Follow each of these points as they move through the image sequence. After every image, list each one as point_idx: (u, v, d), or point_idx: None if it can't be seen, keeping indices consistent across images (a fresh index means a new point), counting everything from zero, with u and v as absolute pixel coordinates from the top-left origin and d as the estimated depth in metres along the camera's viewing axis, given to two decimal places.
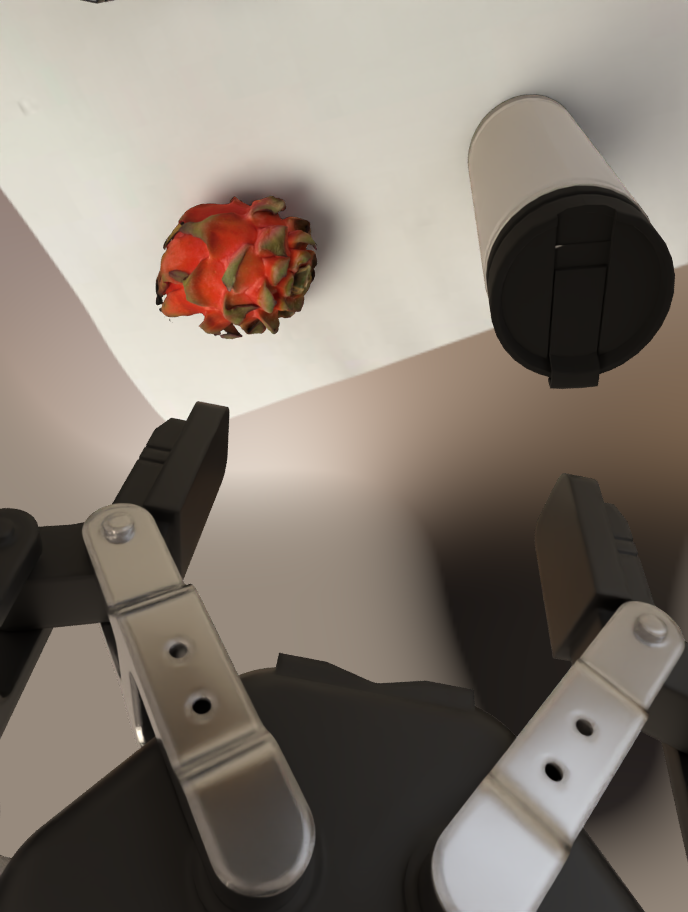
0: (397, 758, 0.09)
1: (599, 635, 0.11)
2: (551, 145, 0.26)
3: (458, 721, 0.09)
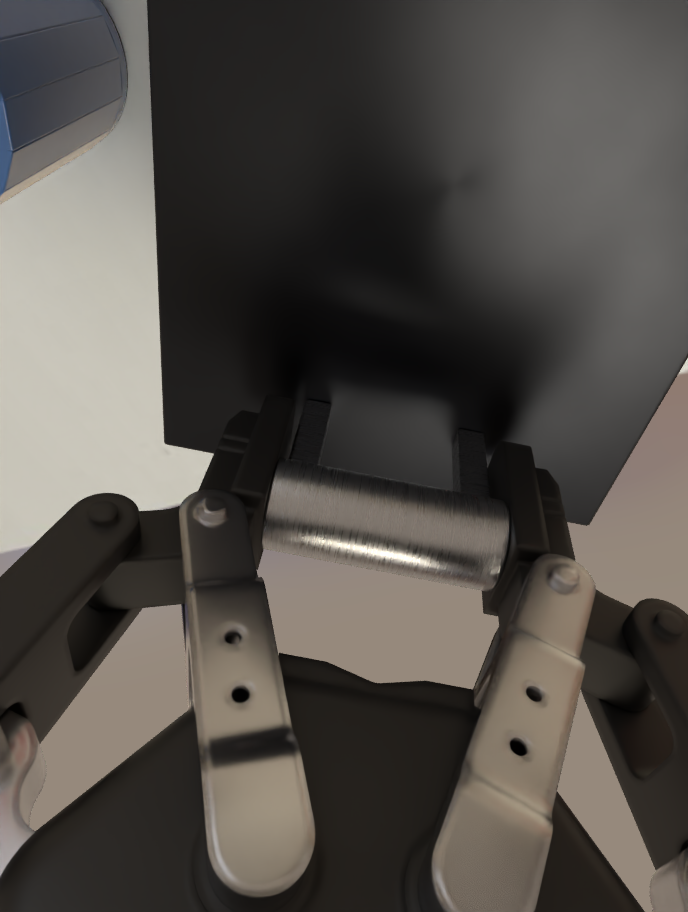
0: (397, 758, 0.09)
1: (522, 596, 0.11)
2: None
3: (458, 721, 0.09)
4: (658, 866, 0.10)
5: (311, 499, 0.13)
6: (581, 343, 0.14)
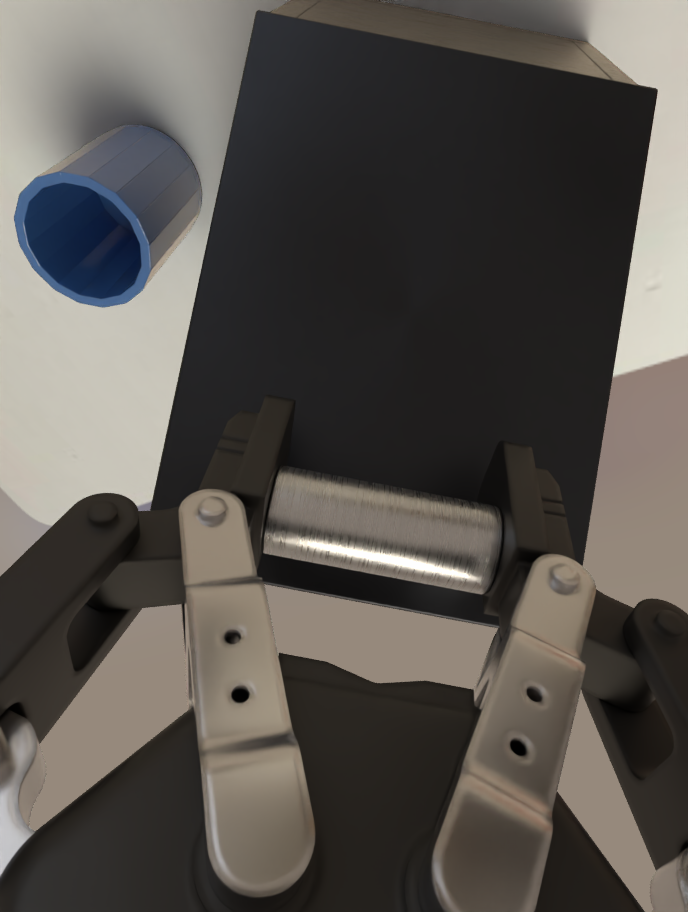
0: (397, 758, 0.09)
1: (522, 596, 0.11)
2: None
3: (458, 721, 0.09)
4: (658, 866, 0.10)
5: (316, 478, 0.14)
6: (518, 434, 0.18)
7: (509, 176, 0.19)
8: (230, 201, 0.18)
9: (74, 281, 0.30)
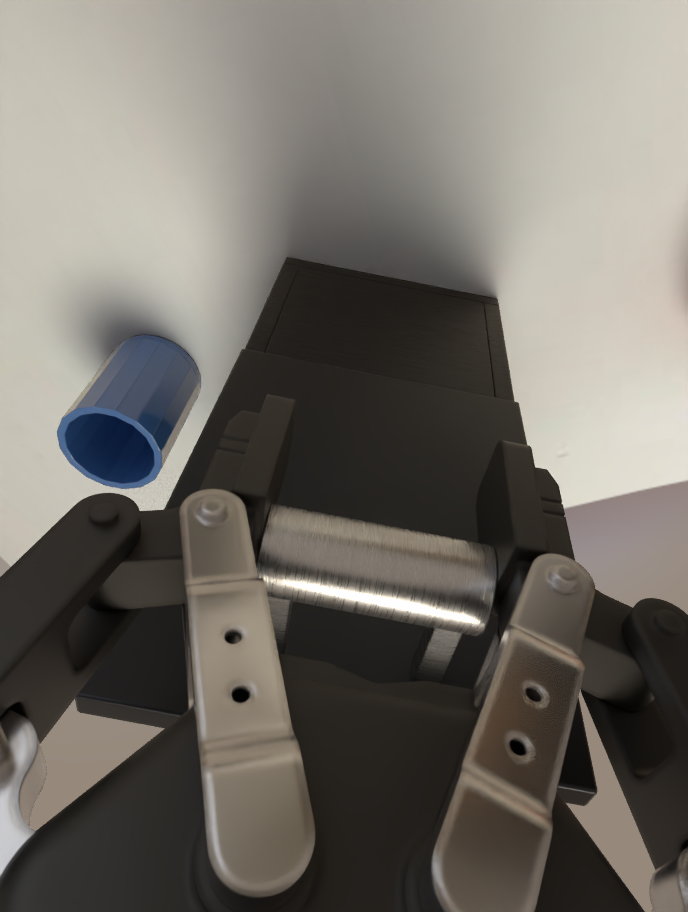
0: (397, 758, 0.09)
1: (521, 596, 0.11)
2: None
3: (458, 721, 0.09)
4: (658, 865, 0.10)
5: None
6: None
7: (430, 432, 0.25)
8: (215, 429, 0.23)
9: (101, 468, 0.38)
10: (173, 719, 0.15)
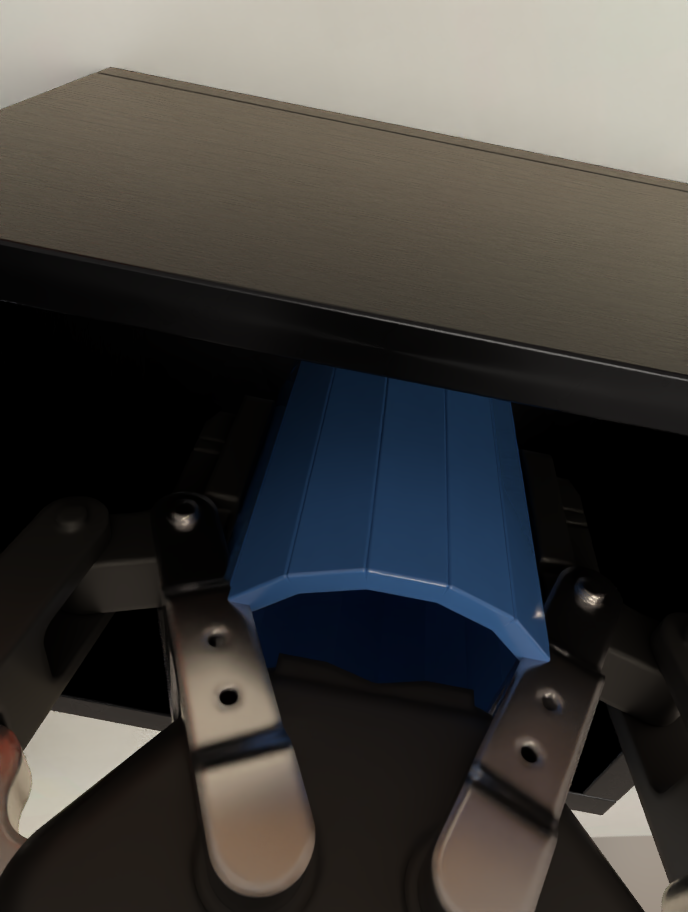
0: (397, 758, 0.09)
1: (546, 606, 0.11)
2: None
3: (458, 721, 0.09)
4: (673, 882, 0.10)
5: None
6: None
7: None
8: None
9: (483, 704, 0.12)
10: None
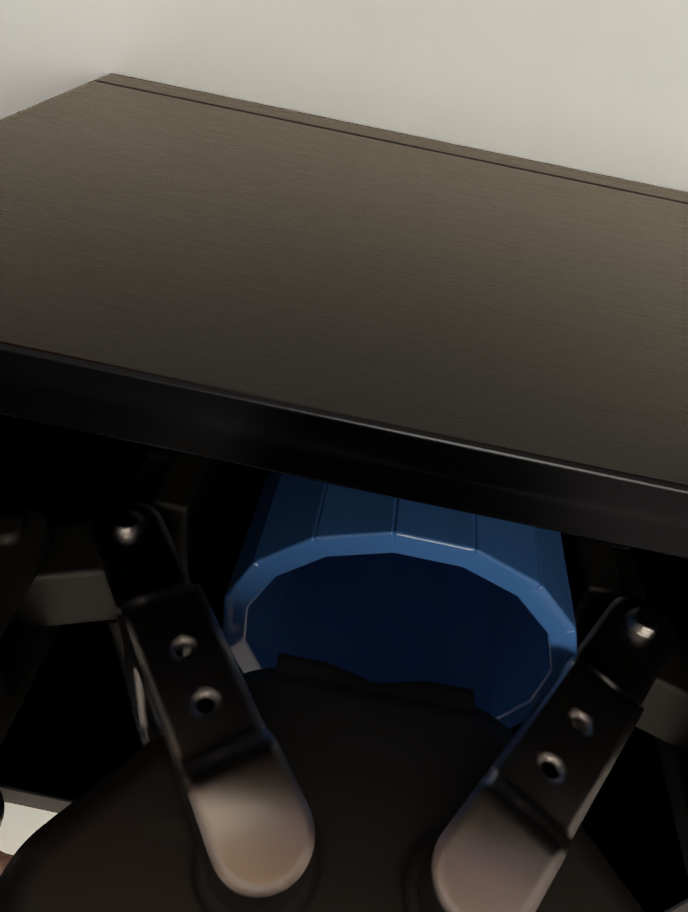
0: (397, 758, 0.09)
1: (592, 631, 0.11)
2: None
3: (458, 721, 0.09)
4: None
5: None
6: None
7: None
8: None
9: (505, 675, 0.12)
10: None
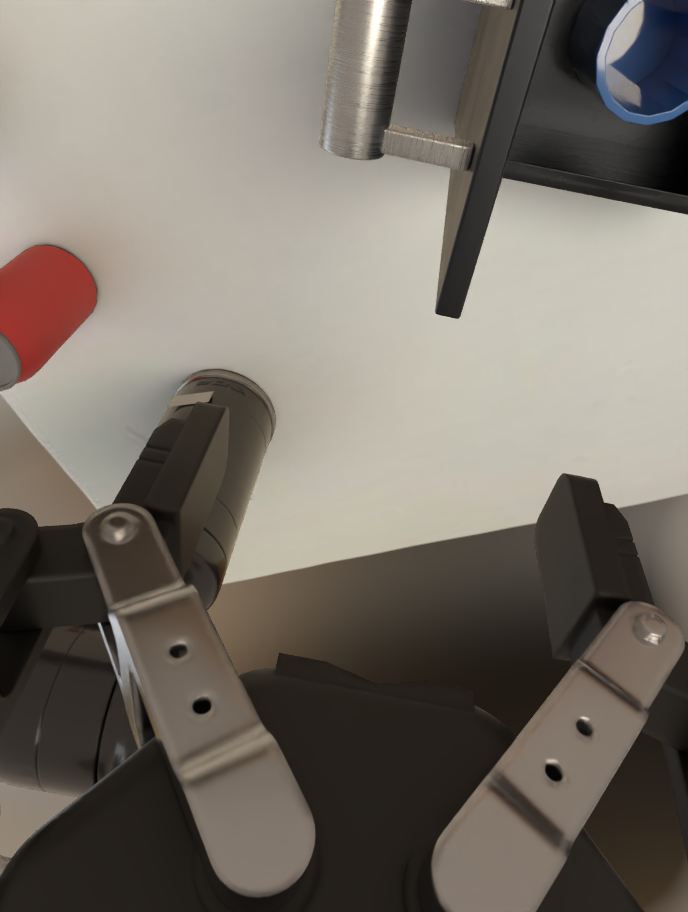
0: (397, 758, 0.09)
1: (599, 635, 0.11)
2: None
3: (458, 721, 0.09)
4: None
5: None
6: None
7: None
8: (449, 197, 0.28)
9: None
10: (462, 244, 0.18)
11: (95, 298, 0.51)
